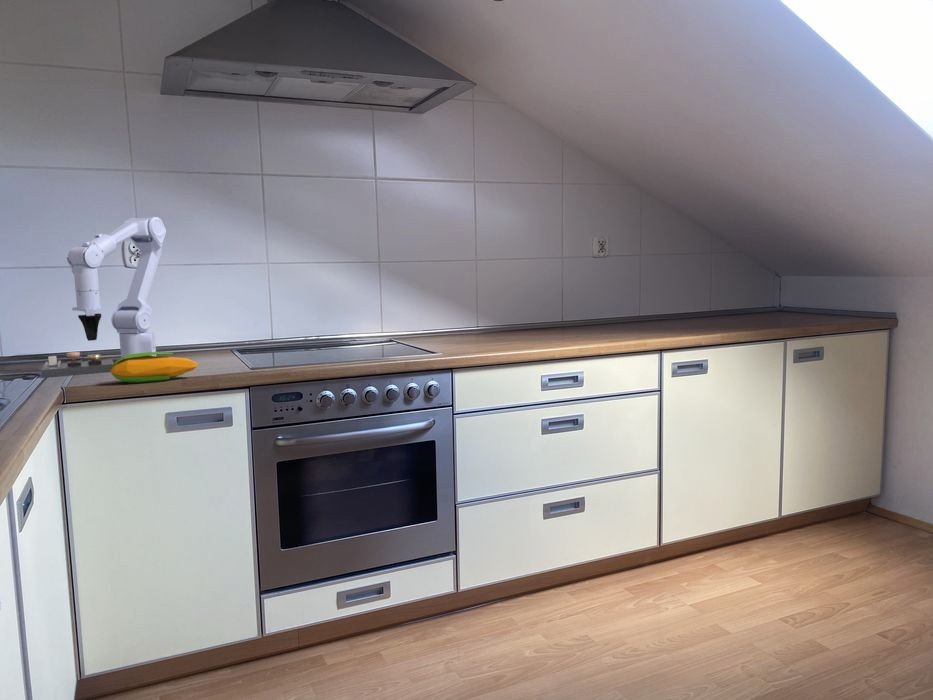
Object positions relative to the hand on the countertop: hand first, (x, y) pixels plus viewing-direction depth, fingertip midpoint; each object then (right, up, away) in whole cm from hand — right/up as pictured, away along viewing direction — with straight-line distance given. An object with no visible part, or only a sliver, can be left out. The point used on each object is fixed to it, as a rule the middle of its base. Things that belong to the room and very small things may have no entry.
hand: (92, 340), depth 191 cm
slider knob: (-9, -7, -2) cm, 12 cm away
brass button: (0, -6, +1) cm, 6 cm away
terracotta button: (-4, -5, -2) cm, 7 cm away
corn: (+25, -11, -17) cm, 32 cm away
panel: (-3, -9, -1) cm, 9 cm away
